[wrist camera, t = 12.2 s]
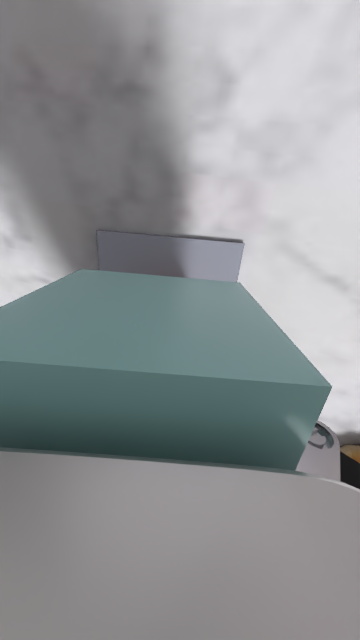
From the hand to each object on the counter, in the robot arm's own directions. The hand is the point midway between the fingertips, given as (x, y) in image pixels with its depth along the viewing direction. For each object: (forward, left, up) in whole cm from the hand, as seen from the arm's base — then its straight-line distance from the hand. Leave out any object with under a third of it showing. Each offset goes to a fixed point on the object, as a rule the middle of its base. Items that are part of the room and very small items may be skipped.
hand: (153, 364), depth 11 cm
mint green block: (0, 0, -2) cm, 2 cm away
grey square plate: (0, 0, -8) cm, 8 cm away
